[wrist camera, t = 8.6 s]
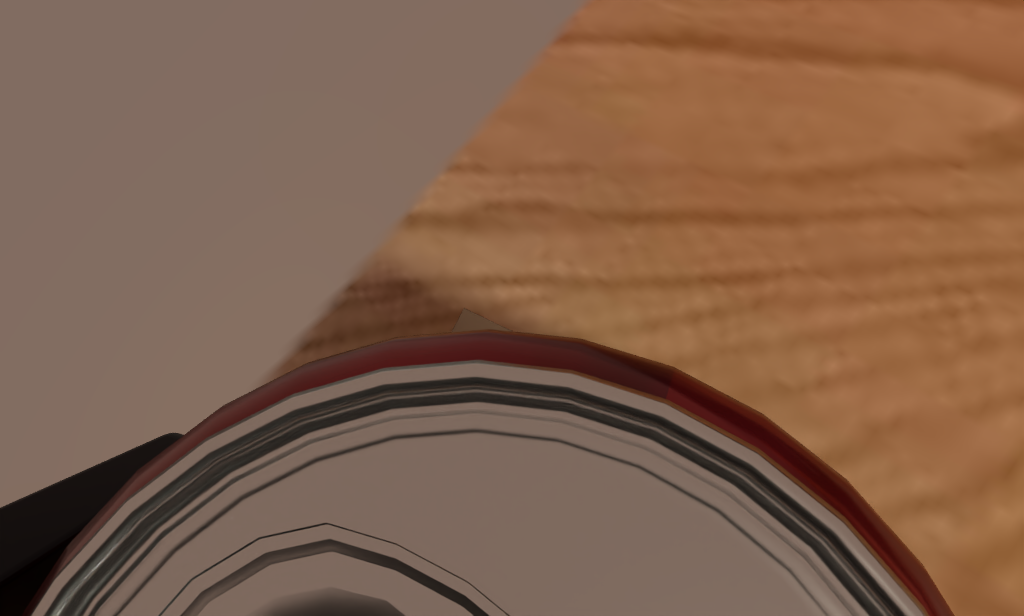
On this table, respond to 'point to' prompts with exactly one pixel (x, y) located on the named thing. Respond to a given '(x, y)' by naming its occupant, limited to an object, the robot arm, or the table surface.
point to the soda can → (487, 499)
